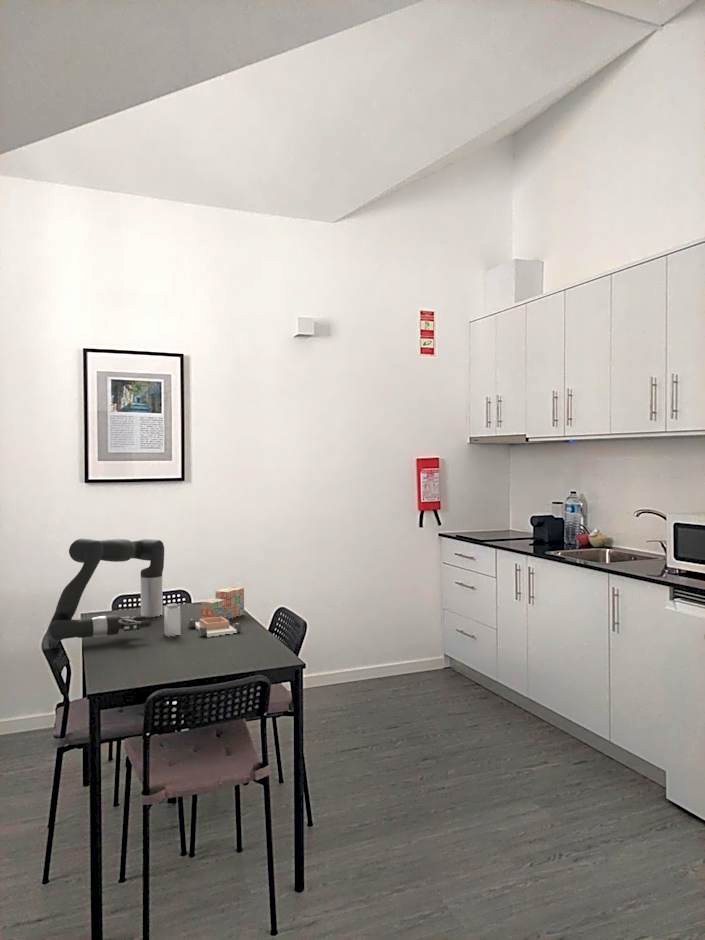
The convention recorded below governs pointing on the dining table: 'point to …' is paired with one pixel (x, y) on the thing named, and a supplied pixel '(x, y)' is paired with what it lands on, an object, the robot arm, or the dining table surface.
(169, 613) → the grey tall block
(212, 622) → the chassis
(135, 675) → the dining table surface
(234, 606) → the stack of blocks
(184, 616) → the dining table surface
